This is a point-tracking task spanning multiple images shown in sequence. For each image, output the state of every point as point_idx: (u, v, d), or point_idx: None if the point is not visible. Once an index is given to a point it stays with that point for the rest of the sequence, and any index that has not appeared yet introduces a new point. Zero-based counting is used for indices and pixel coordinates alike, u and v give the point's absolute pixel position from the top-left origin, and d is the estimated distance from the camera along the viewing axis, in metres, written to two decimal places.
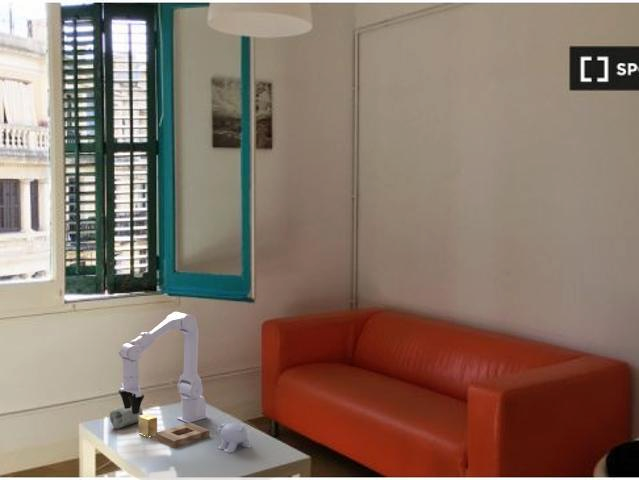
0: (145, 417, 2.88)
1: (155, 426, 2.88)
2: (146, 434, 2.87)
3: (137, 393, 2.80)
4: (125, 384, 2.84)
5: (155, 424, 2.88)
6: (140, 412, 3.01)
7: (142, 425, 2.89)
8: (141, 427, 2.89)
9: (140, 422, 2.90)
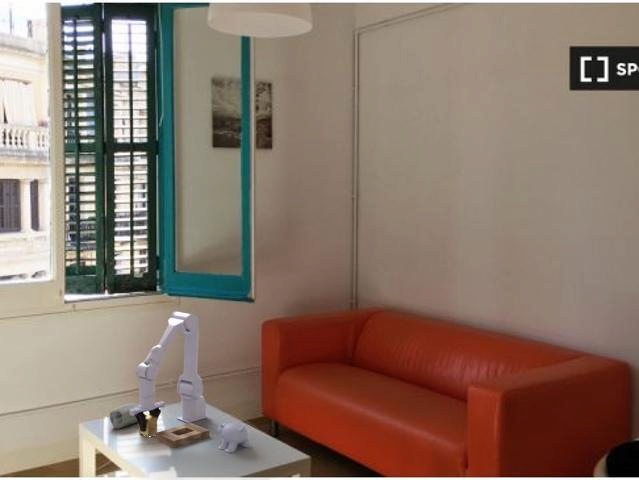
0: None
1: (155, 426, 2.88)
2: (146, 434, 2.87)
3: (130, 411, 2.84)
4: None
5: (155, 424, 2.88)
6: None
7: None
8: None
9: None
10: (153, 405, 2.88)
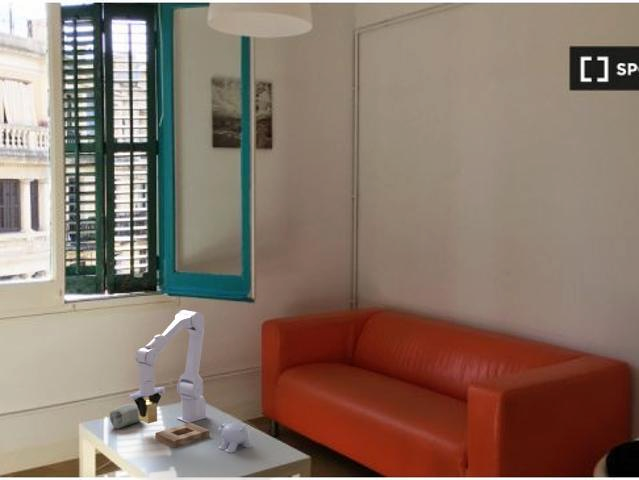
0: None
1: (154, 412, 2.88)
2: (146, 420, 2.87)
3: (129, 396, 2.84)
4: None
5: (155, 410, 2.88)
6: None
7: None
8: None
9: None
10: (153, 390, 2.87)
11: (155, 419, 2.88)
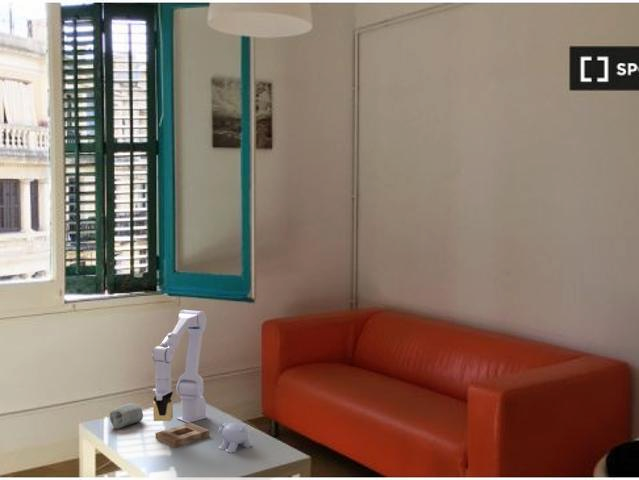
0: None
1: (172, 408, 2.88)
2: (167, 418, 2.86)
3: (157, 396, 2.80)
4: None
5: (172, 406, 2.89)
6: (140, 412, 3.01)
7: None
8: (158, 413, 2.86)
9: (156, 408, 2.85)
10: None
11: (172, 415, 2.89)
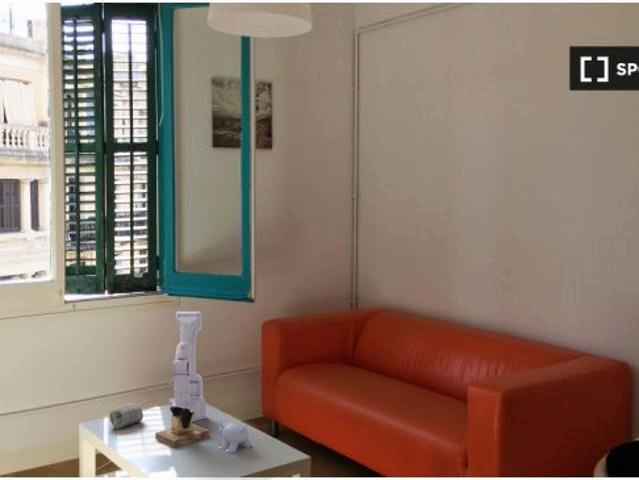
0: None
1: None
2: (189, 430, 2.86)
3: (192, 408, 2.80)
4: (178, 400, 2.82)
5: None
6: (140, 412, 3.01)
7: None
8: (182, 427, 2.83)
9: (180, 423, 2.83)
10: None
11: None
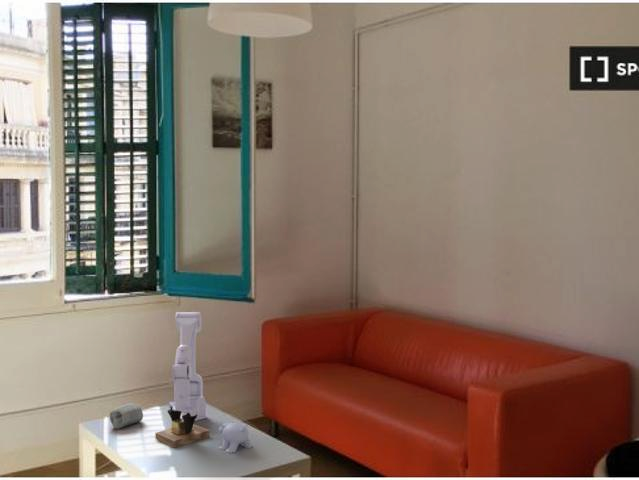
0: None
1: None
2: None
3: (192, 412, 2.80)
4: (178, 404, 2.83)
5: None
6: (140, 412, 3.01)
7: (184, 429, 2.84)
8: (182, 432, 2.84)
9: (181, 428, 2.83)
10: None
11: None
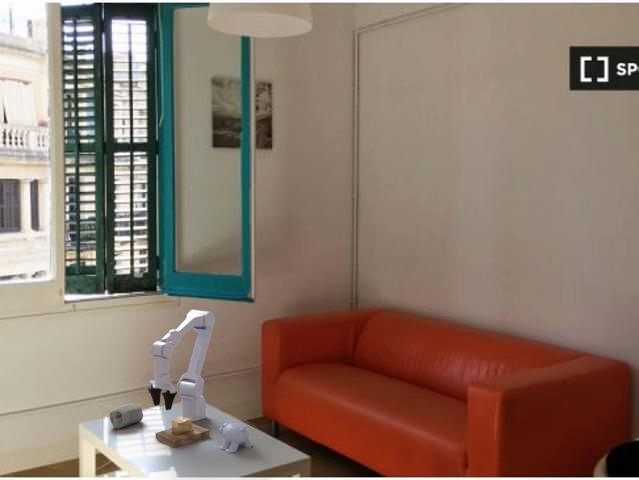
0: (184, 420, 2.85)
1: None
2: None
3: (172, 389, 2.87)
4: (158, 381, 2.89)
5: None
6: (140, 412, 3.01)
7: (184, 429, 2.84)
8: (182, 432, 2.84)
9: (181, 428, 2.83)
10: None
11: None
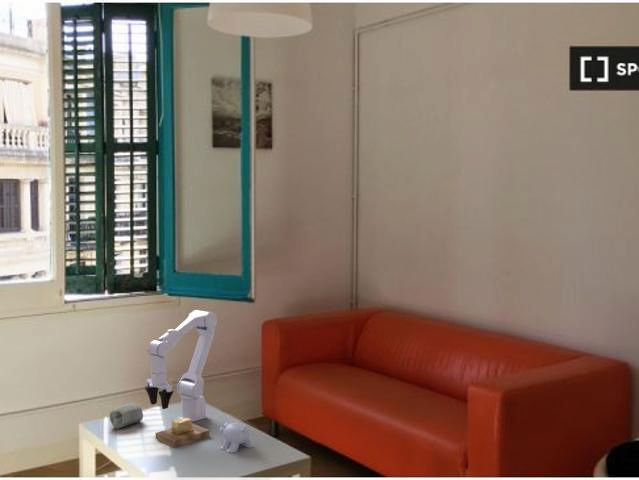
0: (184, 420, 2.85)
1: None
2: None
3: (168, 388, 2.88)
4: (154, 380, 2.91)
5: None
6: (140, 412, 3.01)
7: (184, 429, 2.84)
8: (182, 432, 2.84)
9: (181, 428, 2.83)
10: None
11: None
